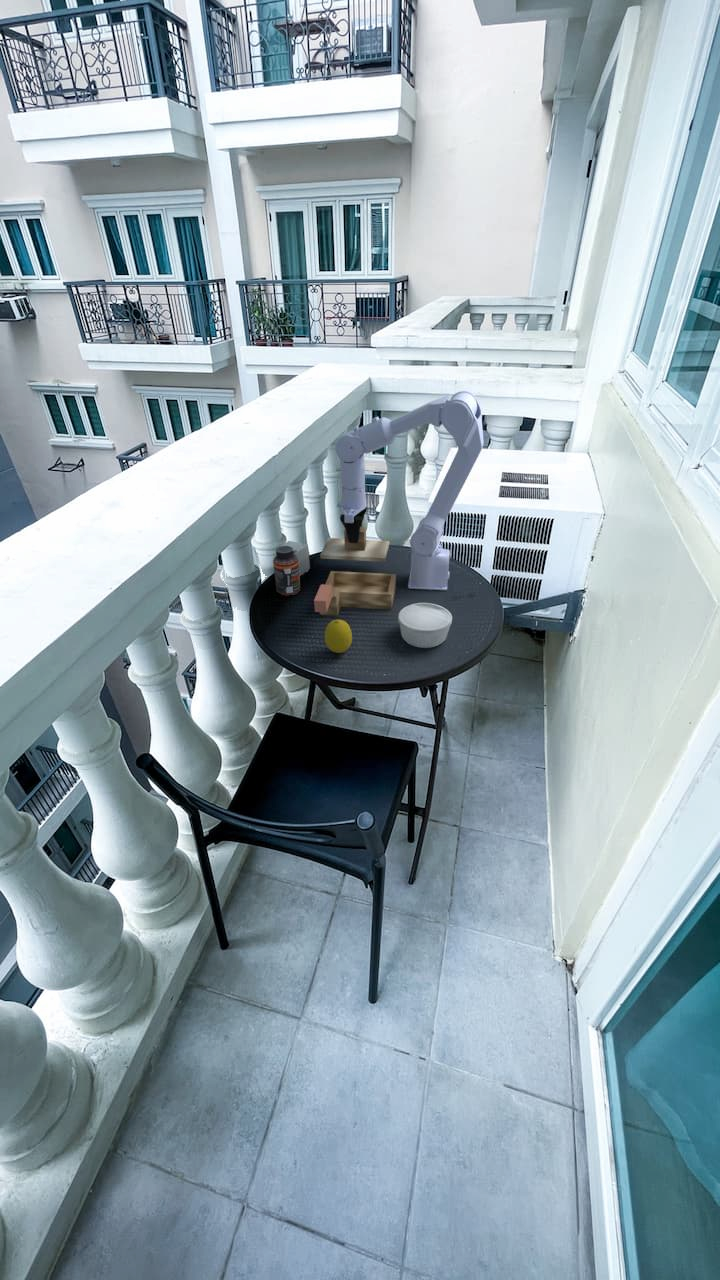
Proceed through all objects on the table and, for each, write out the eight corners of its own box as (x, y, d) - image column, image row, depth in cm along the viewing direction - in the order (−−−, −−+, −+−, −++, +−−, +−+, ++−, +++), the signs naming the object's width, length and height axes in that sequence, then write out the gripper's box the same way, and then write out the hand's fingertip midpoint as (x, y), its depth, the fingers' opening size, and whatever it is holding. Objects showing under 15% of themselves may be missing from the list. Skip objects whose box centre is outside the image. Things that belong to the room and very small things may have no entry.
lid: (389, 544, 140) (389, 522, 137) (384, 561, 132) (385, 539, 129) (328, 541, 142) (327, 519, 139) (320, 558, 134) (319, 535, 131)
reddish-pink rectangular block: (332, 596, 121) (332, 584, 119) (326, 612, 115) (325, 601, 114) (321, 595, 121) (320, 584, 120) (314, 611, 116) (314, 600, 114)
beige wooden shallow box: (395, 588, 134) (395, 570, 131) (389, 618, 122) (389, 599, 119) (331, 585, 136) (330, 567, 133) (320, 614, 124) (318, 595, 122)
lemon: (349, 661, 110) (348, 628, 105) (323, 659, 110) (320, 626, 106) (355, 646, 114) (353, 613, 109) (329, 643, 115) (327, 611, 110)
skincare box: (290, 565, 146) (288, 540, 141) (310, 569, 143) (308, 543, 139) (278, 575, 141) (275, 549, 137) (299, 579, 139) (296, 553, 135)
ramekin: (452, 625, 120) (454, 604, 117) (448, 654, 111) (450, 633, 108) (401, 620, 122) (402, 600, 119) (394, 648, 113) (394, 627, 110)
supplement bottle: (296, 598, 131) (292, 555, 125) (273, 596, 132) (267, 553, 126) (303, 586, 136) (300, 544, 129) (281, 584, 137) (276, 543, 130)
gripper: (341, 475, 134) (343, 527, 142) (330, 495, 122) (333, 551, 130) (369, 476, 133) (370, 528, 141) (361, 496, 121) (362, 552, 129)
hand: (354, 539), depth 135 cm, fingers closed on lid, 3 cm apart
